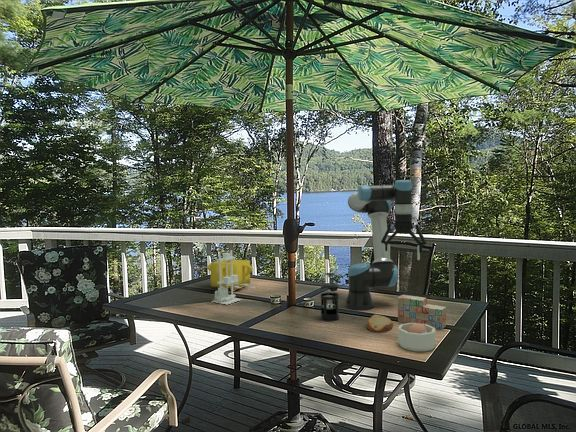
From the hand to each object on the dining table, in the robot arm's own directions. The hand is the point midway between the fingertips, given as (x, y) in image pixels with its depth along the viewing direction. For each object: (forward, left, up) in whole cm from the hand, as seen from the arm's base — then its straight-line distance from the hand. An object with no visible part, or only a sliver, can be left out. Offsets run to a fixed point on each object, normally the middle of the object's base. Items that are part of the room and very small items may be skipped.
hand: (403, 259), depth 196 cm
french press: (-36, -1, -32) cm, 48 cm away
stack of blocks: (+7, +6, -32) cm, 33 cm away
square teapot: (-120, +38, -32) cm, 130 cm away
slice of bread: (-11, -3, -32) cm, 34 cm away
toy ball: (+9, -23, -31) cm, 39 cm away
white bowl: (+9, -23, -32) cm, 40 cm away
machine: (-95, +6, -32) cm, 100 cm away
